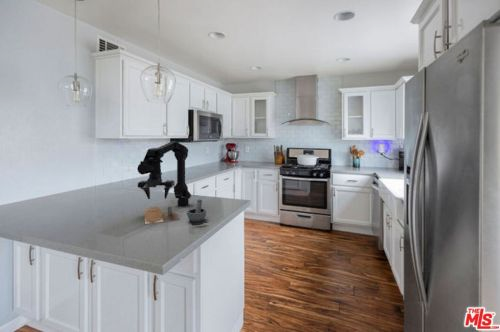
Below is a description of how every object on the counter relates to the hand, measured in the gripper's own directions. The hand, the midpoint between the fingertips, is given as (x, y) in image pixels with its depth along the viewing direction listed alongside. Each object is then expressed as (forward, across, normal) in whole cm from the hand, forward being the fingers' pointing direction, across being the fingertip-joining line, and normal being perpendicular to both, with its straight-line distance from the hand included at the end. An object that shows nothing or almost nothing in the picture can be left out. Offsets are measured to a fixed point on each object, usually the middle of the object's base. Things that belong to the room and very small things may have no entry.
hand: (157, 199), depth 143 cm
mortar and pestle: (+12, +24, -8) cm, 28 cm away
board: (+11, +3, -4) cm, 12 cm away
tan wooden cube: (+9, 0, -8) cm, 12 cm away
